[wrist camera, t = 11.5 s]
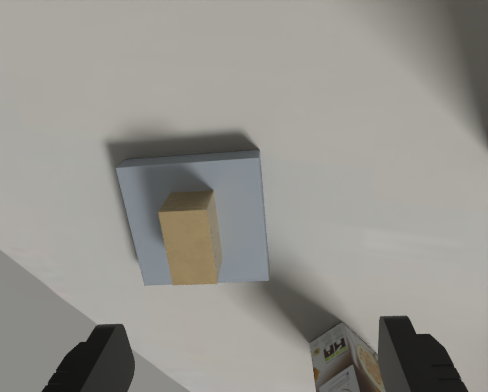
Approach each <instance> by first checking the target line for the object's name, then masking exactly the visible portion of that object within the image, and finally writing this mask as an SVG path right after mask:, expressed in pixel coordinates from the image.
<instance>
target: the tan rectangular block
mask: <svg viewBox="0 0 488 392" xmlns="http://www.w3.org/2000/svg"><path fill="white" fill-rule="evenodd" d="M158 214H159V219H160V224H161V229H162V234H163V239H164V244H165V249H166V254H167V259H168V264H169V269H170V274H171V279H172V284H173V285H192V284H217V283H218V278H219V273H220V268H221V264H222V259H223V257H222V250H221V242H220V234H219V226H218V219H217V211H216V203H215V195H214V190H212V191H194V192H176V193H170V194H169V196H168V197H167V199H166V201H165V202H164V204H163V205H162V207H161V209H160V210H159V212H158Z"/></svg>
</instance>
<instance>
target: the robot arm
mask: <svg viewBox="0 0 488 392" xmlns="http://www.w3.org/2000/svg"><path fill="white" fill-rule="evenodd" d="M378 362H379V369H380V374H381V378H382V381H383V384H384V388H385V391H386V392H468V390H467V388H466V386H465V385H464V383H463V382H462V381H461V377H460V375H459V373H458V372H457V370H456V368H454V364H453V362H452V360H451V359H450V357H449V355H448V353H447V351H446V349H445V348H444V347H443V346H442V345H441V344H440V343H439V342H438V341H437V340H436V339H435V338H433V337H432V336H431V335H430V334H416V332H415V330H414V328H413V326H412V323H411V321H410V319H409V318H408V317H407V316H381V317H380V319H379V341H378ZM134 369H135V361H134V357H133V353H132V350H131V347H130V344H129V340H128V337H127V334H126V330H125V328H124V326H123V325H122V324H102V325H97V326H96V327H95V328H94V330H93V331H92V333H91V335H90V336H89V338H88V339H87V341H86V342H80V343H79V344H78V345H77V346H76V347H74V348H73V349H72V350H71V351H70V352H69V353H68V354H67V355H66V356H65V357H64V359H63V360H62V362H61V364H60V365H59V367H58V368H57V369H56V373H54V374H53V376H52V377H51V379H50V380H49V382H48V385H47V386H45V388H44V389H43V391H42V392H127V391H128V389H129V386H130V384H131V382H132V379H133V376H134Z"/></svg>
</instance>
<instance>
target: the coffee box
mask: <svg viewBox="0 0 488 392" xmlns="http://www.w3.org/2000/svg"><path fill="white" fill-rule="evenodd" d="M310 349H311V356H312V364H313V371H314V379H315V387H316V392H386V391H385V388H384V384H383V381H382V378H381V374H380V369H379V362H378V355H377V354H376V353H375V352H374V351H373V350H372V349H371V348H370V347H369V346H367V345H366V344H365V343H364V342H363V341H362V340H361V339H360V338H359V337H358V336H357V335H356V334H355V333H354V332H352V331H351V330H350V329H349V328H348V327H347V326H346V325H345V324H344V323H342V322H341V323H339V324H338V325H336V326H335V327H333V328H332V329H330V330H329V331H327V332H326V333H324V334H323V335H321V336H320V337H318V338H316V339H315V340H313V341H312V342H311V343H310Z"/></svg>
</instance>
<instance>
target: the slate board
mask: <svg viewBox="0 0 488 392" xmlns="http://www.w3.org/2000/svg"><path fill="white" fill-rule="evenodd" d="M116 172H117V176H118V180H119V184H120V188H121V192H122V196H123V200H124V204H125V208H126V212H127V216H128V221H129V225H130V229H131V233H132V237H133V241H134V245H135V249H136V253H137V257H138V261H139V265H140V269H141V273H142V277H143V282H144V286H145V285H170V284H172V279H171V274H170V269H169V264H168V259H167V254H166V249H165V244H164V239H163V234H162V229H161V224H160V219H159V214H158V212H159V210H160V209H161V207H162V205H163V204H164V202H165V201H166V199H167V197H168V196H169V194H170V193H176V192H194V191H212V190H214V195H215V203H216V211H217V219H218V226H219V234H220V242H221V250H222V257H223V259H222V264H221V268H220V273H219V278H218V283H222V282H248V281H269V260H268V248H267V235H266V223H265V211H264V198H263V186H262V174H261V161H260V150H249V151H235V152H222V153H208V154H194V155H181V156H167V157H154V158H140V159H126V160H124V161H123V162H122V163H121V164H120V165H118V166H117V167H116Z"/></svg>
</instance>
